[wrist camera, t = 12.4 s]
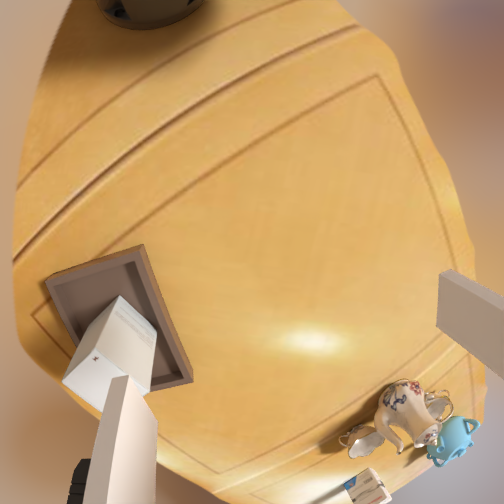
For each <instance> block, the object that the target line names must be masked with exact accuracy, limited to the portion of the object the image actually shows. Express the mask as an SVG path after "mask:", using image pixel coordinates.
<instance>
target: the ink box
mask: <svg viewBox="0 0 504 504" xmlns="http://www.w3.org/2000/svg"><path fill="white" fill-rule="evenodd" d="M344 486H345V488H346V490H347V492H348V494H349V496H350V498H351V500H352V502H353V503H354V504H386V503H388V502H389V501H391V500H392V498H391V496H390V494H389V493H388V491H387V489H386V488H385V486H384V484H383V483H382V481H381V479H380V478H379V476H378V474H377V473H376V471H375V470H373V469H371V468H367V469H366V470H365V471H363V472H362V473H360V474H359V475H357V476H356V477H354V478H353V479H351V480H350V481H348V482H346V483H345V484H344Z"/></svg>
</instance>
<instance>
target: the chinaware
mask: <svg viewBox="0 0 504 504" xmlns="http://www.w3.org/2000/svg"><path fill="white" fill-rule="evenodd" d="M442 391H445V392H447V393H448V395H450V394H449V392H448V391H447V390H441V391H439V393H440V392H442ZM428 393H429V392H428ZM428 393H425V394H424V390H423V389H422V388H421V386H420V384H419V382H418V381H409V380H408V379H401V380H398V381H396V382H394V383H392V384H391V385H389V386H388V387H387V388H386V389H385V390H384V391H383V392H382V394H381V395H380V397H379V399H378V407H379V408H378V410H377V412H376V414H375V416H374V426H375V428H374V427H371V426H363V425H361V424H360V425H358V426H356V427H353V429H352V431H351V432H347V433H346V434H347V435H342V436H340V437H339V442H340V444H341V445H343V446H346V447H347V446H348V455H349V457H350V458H351V459H352V458H356V457H358V456H361V457H364V456H368V455H369V454H371V453H372V452H373V450H374V449H375V448H376V447H379V446H381V445H382V444H383V443H384V440H385V439H387V440H388V441H390V442H391V443H393V444H394V445H395V446H396V447H397V453H396V455H399V454H400V453H401V452H402V450H403V447H404V446H403V442H402V440H401V439H400V438H399V437H398V436H397V435H396V434H395V432H394V431H393V430H392V429H391V428H390V427H389V424H390V425H394V426H398V427H400V428H402V429H403V430H405V431H406V432H407V433H408V434H409V435H410V437H411V438H412V440H413V442H414V447H416V448H419V447H422V446H424V445H433V446H436V445H437V437H438V433H439V432H440V431H441V428H442V423H444V422H445V421H447V420H448V419H449V418H450V417H451V416H452V414H453V410H454V407H453V404H452V402H451V401H450V399H449V396H448V397H447V396H445V395H441V394H439V393H435V392H433V393H430V394H428ZM448 404H449V405H450V407H451V412H450V414H449V415H448V416H447V417H446V418H445V419H444V420H442V421H441V419H442V417H441V415H442V413H443V412H444V410H445V406H446V405H448ZM436 418H437V419H436ZM435 419H436V420H435ZM350 434H351V435H350ZM348 436H349V439H348V443H347V445H346V444H344V443H342V442H341V440H340V438H341V437H348Z"/></svg>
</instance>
